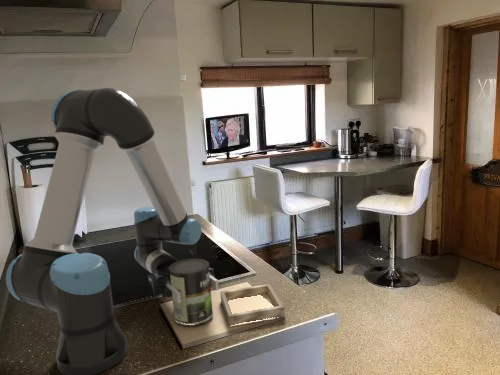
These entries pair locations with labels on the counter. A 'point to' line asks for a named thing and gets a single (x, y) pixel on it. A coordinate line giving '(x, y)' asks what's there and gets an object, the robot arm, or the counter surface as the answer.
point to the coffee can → (192, 290)
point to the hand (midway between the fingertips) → (198, 291)
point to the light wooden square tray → (254, 314)
